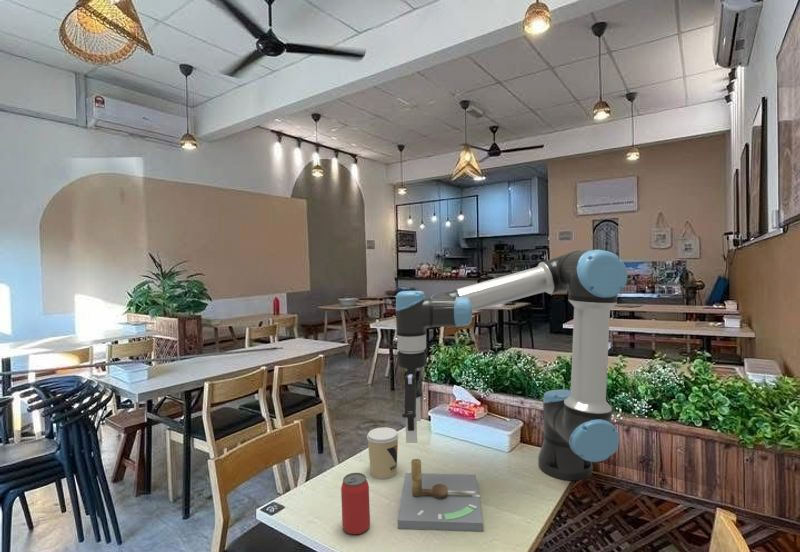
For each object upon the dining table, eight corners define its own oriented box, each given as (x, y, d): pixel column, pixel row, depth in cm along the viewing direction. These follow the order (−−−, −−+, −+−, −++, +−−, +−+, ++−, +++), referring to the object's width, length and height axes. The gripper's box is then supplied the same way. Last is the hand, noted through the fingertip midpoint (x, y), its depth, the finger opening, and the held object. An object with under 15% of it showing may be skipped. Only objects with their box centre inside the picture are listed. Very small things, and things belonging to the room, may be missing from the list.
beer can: (337, 527, 102) (335, 478, 101) (358, 515, 106) (356, 468, 106) (354, 540, 97) (352, 488, 96) (375, 526, 101) (374, 477, 101)
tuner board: (476, 481, 120) (476, 473, 120) (484, 531, 98) (484, 522, 98) (405, 479, 122) (405, 472, 122) (397, 528, 100) (397, 519, 100)
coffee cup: (395, 481, 121) (394, 440, 121) (364, 479, 123) (363, 438, 123) (402, 465, 131) (400, 427, 130) (372, 463, 133) (371, 426, 132)
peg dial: (474, 490, 111) (473, 458, 111) (475, 499, 107) (474, 466, 107) (412, 489, 113) (411, 457, 113) (411, 497, 109) (410, 464, 109)
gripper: (402, 341, 123) (404, 413, 123) (390, 362, 98) (393, 452, 99) (428, 340, 122) (430, 413, 123) (423, 362, 97) (425, 453, 98)
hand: (413, 431), depth 111 cm, fingers open, 13 cm apart
